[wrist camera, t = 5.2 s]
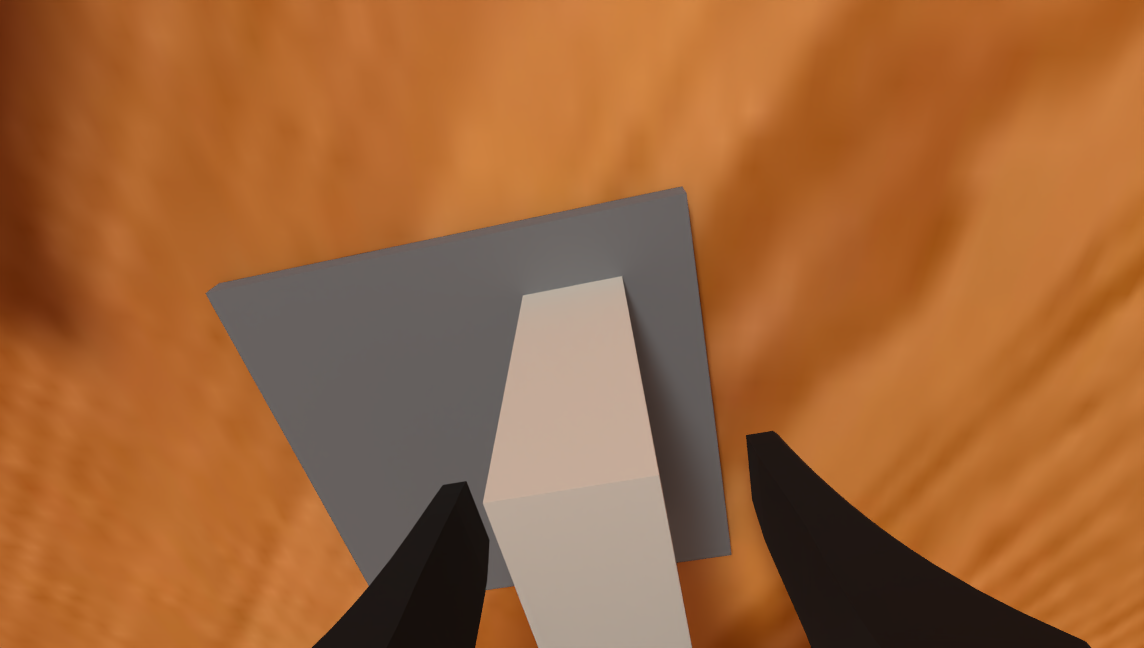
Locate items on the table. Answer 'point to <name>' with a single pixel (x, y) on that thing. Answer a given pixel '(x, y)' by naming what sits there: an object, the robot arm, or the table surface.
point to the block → (583, 479)
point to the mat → (471, 364)
